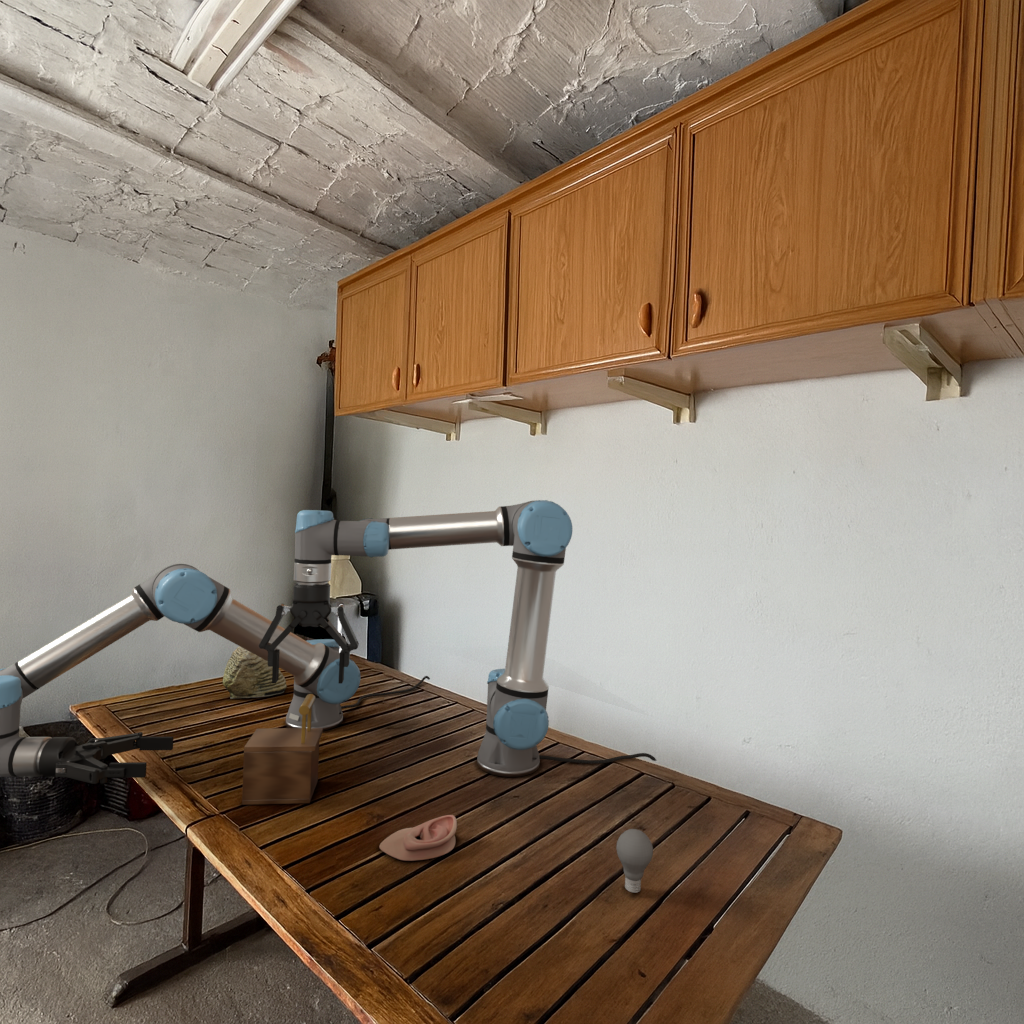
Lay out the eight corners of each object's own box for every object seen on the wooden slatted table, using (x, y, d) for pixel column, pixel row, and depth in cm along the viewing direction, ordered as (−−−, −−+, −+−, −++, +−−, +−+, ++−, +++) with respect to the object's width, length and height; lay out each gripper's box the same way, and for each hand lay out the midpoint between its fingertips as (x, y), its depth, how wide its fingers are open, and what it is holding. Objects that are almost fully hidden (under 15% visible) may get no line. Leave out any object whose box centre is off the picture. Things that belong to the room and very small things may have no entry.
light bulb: (610, 879, 108) (613, 822, 108) (644, 879, 109) (647, 822, 109) (619, 902, 102) (622, 840, 102) (655, 901, 103) (658, 840, 103)
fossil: (218, 695, 195) (220, 647, 195) (278, 685, 208) (279, 640, 207) (228, 703, 189) (230, 653, 188) (289, 692, 201) (290, 645, 201)
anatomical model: (372, 833, 112) (397, 803, 124) (372, 855, 112) (396, 824, 124) (444, 845, 110) (462, 813, 121) (443, 867, 110) (462, 834, 121)
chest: (317, 780, 141) (319, 732, 141) (309, 803, 131) (311, 751, 131) (255, 782, 139) (256, 733, 139) (241, 804, 129) (243, 752, 129)
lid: (322, 732, 141) (324, 691, 141) (314, 751, 131) (316, 707, 131) (256, 733, 139) (258, 691, 139) (243, 752, 129) (245, 707, 129)
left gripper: (79, 750, 141) (181, 750, 144) (7, 804, 116) (131, 802, 119) (81, 717, 140) (182, 717, 144) (8, 763, 116) (133, 762, 119)
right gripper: (245, 583, 129) (242, 686, 130) (370, 586, 133) (366, 686, 133) (255, 578, 137) (251, 676, 137) (373, 581, 140) (369, 676, 141)
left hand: (159, 756), depth 131 cm, fingers open, 13 cm apart
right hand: (308, 681), depth 135 cm, fingers open, 13 cm apart
